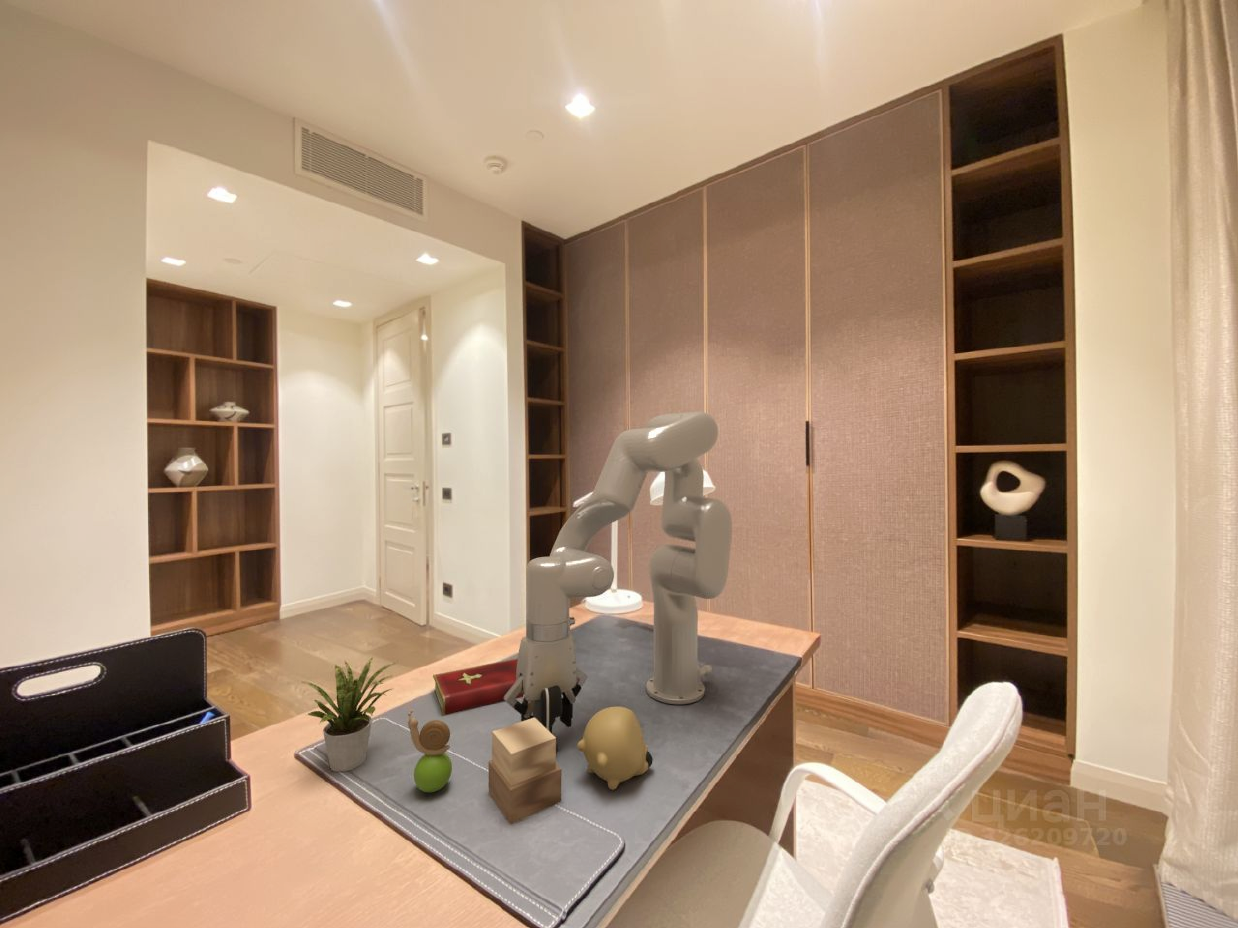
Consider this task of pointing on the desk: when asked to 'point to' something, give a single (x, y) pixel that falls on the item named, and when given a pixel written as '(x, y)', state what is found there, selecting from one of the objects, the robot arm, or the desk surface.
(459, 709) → the hardcover book
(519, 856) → the desk surface
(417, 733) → the snail figurine
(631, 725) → the toy pig
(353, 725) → the house plant
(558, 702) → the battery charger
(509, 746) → the oak block
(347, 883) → the desk surface
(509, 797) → the walnut block
